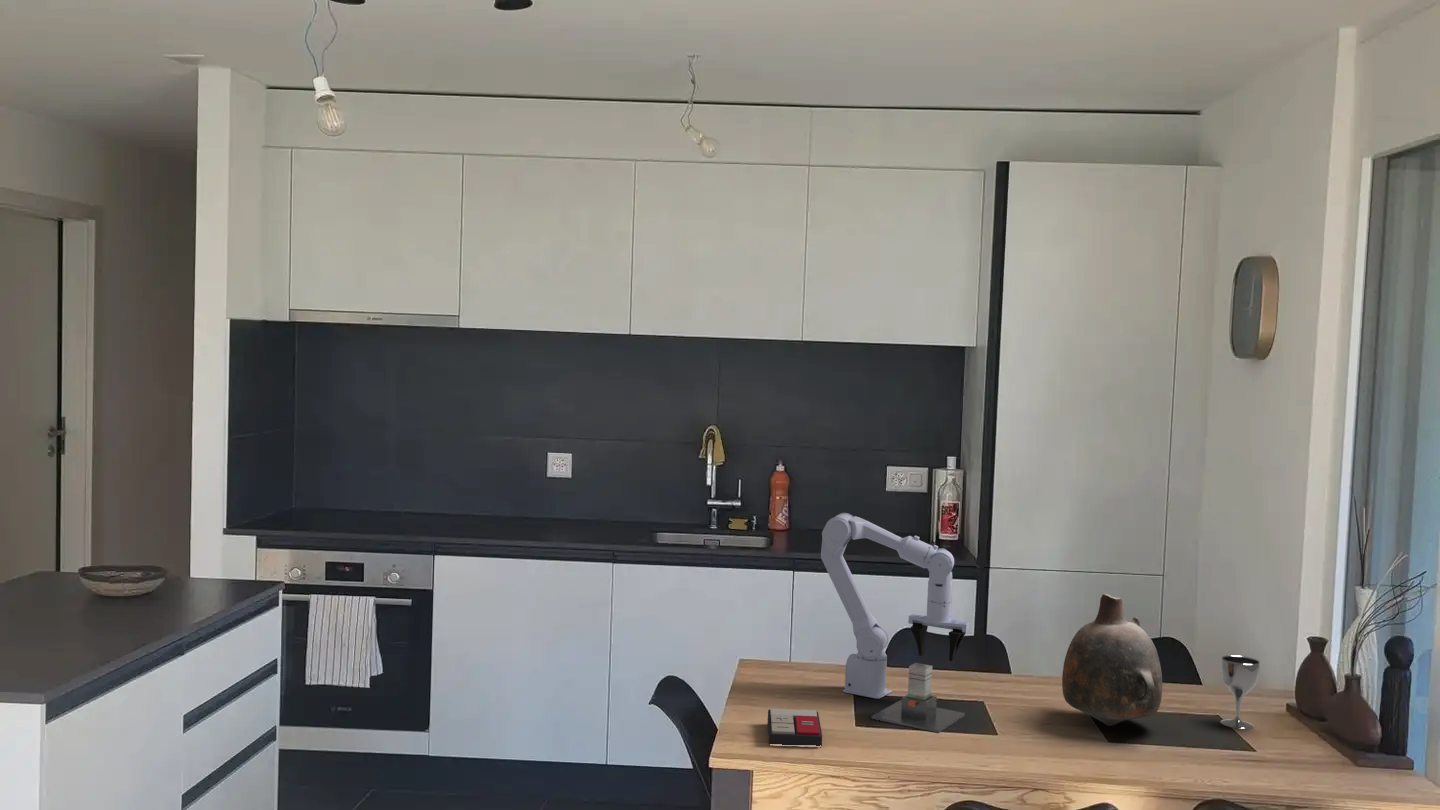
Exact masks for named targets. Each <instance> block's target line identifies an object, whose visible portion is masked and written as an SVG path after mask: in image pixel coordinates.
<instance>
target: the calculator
mask: <svg viewBox="0 0 1440 810" xmlns="http://www.w3.org/2000/svg"><path fill="white" fill-rule="evenodd" d="M819 715H820V714H819V712H818V711H817V710H815V709H814V710H811V709H788V708H785V709H784V708H770V709H768V710H767V737H768V736H769V739H768V745H769V744H782V745H816V746H820V745H821V746H822V747H823V732H822V728H821V727H822V726H821V722H820V716H819Z"/></svg>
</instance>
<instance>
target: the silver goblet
mask: <svg viewBox="0 0 1440 810" xmlns="http://www.w3.org/2000/svg"><path fill="white" fill-rule="evenodd" d="M1260 664H1261V663H1260V660H1258V659H1255V658H1253V657H1249V656H1245V655H1244V656H1243V655H1232V654H1231V655H1230V654H1229V655H1223V656H1222V657H1221V675H1222V679H1223V682H1224V684H1225V686H1226V687H1227V689H1228V690H1229V691H1230V692H1231V693H1232V695H1233V698H1234V701H1235V716H1234V717H1235V718H1233V719H1232V718H1227V719H1221V720H1220V724H1222V725H1223V726H1226V727H1229V728H1233V729H1238V730H1250V729H1251V730H1252V729H1254V728H1255V725H1254V724H1252V723H1250V722H1249V721H1244V720H1242V719H1241V718H1240V712H1241V711H1240V710H1241V705H1242V701H1243V699H1244V697H1245V696H1246V695H1247V694H1248V693H1249V692H1251V691H1252V690H1253V689H1254V688H1255V686H1256V684H1257V682H1258V678H1259V674H1260V673H1259V672H1260Z"/></svg>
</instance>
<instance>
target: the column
mask: <svg viewBox="0 0 1440 810" xmlns="http://www.w3.org/2000/svg"><path fill="white" fill-rule="evenodd" d="M932 680H933V665H929V664H924V663H919V662H915V663H913V664H911V665H909V666H908V683H907V695H908V698H910V699H915V700H920V701H927V700H929V699H930V698H931V696H932V685H933V681H932Z"/></svg>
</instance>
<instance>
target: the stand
mask: <svg viewBox="0 0 1440 810" xmlns="http://www.w3.org/2000/svg"><path fill="white" fill-rule="evenodd" d="M937 700H938V697H937V696H934V695H931V698H930V699H929V700H927V701H920V700H915V699H910V698H908V694H906V695H904V696H902V697H901V699H900V700H898V701H896V702H895V703H893V704H891V705H889V706H887V707H885V708H884V709H882V710H880V711H879V712H876V713H874V714H873V715H871V720H874V719H875V720H874V721H879V720H880V722H884V723H888V724H895V725H899V726H905V727H908V728H914V729H919V730H923V731H928V732H932V733H938V734H939V733H941V732H942V731H944V730H945V729H947V728H948V727H950V726H951V725H953V724H954V723H956V722H958V721H959V720H960V719H962V718H963V717H965V716H966V714H965V712H962V711H956V710H952V709H946V708H941V707H937Z"/></svg>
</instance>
